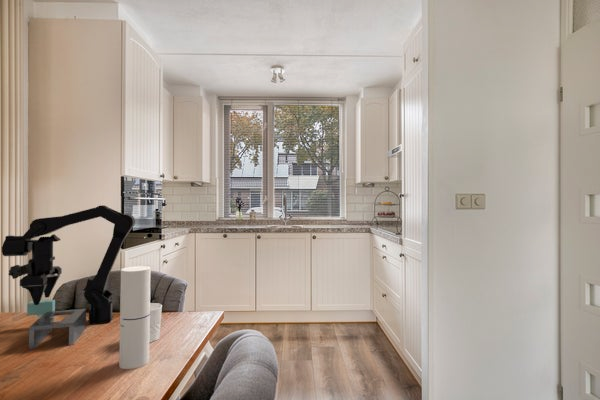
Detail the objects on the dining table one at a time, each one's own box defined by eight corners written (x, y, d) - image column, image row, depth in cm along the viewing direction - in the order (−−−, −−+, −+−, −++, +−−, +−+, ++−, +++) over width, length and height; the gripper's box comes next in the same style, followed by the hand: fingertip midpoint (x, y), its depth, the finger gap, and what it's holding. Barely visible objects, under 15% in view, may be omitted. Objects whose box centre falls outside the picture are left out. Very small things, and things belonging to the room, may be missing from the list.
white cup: (128, 340, 104) (128, 308, 104) (150, 332, 111) (150, 301, 111) (145, 346, 100) (146, 312, 100) (167, 336, 107) (167, 305, 107)
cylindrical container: (137, 370, 86) (138, 272, 86) (112, 367, 87) (114, 270, 87) (154, 358, 93) (156, 266, 93) (131, 355, 94) (133, 265, 94)
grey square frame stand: (46, 331, 110) (47, 311, 110) (85, 328, 114) (86, 308, 114) (28, 349, 97) (29, 326, 97) (73, 344, 101) (73, 322, 101)
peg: (55, 323, 118) (55, 299, 118) (51, 327, 114) (51, 302, 114) (31, 325, 115) (31, 300, 115) (26, 329, 111) (26, 304, 112)
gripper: (25, 252, 121) (25, 295, 121) (-1, 260, 103) (-2, 311, 103) (62, 250, 125) (61, 293, 124) (42, 258, 107) (42, 308, 107)
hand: (42, 300), depth 115 cm, fingers open, 9 cm apart
